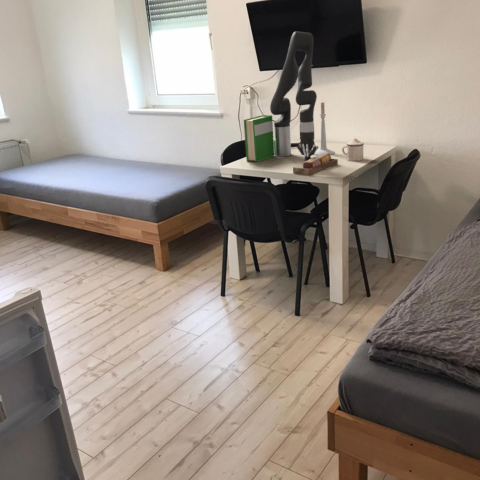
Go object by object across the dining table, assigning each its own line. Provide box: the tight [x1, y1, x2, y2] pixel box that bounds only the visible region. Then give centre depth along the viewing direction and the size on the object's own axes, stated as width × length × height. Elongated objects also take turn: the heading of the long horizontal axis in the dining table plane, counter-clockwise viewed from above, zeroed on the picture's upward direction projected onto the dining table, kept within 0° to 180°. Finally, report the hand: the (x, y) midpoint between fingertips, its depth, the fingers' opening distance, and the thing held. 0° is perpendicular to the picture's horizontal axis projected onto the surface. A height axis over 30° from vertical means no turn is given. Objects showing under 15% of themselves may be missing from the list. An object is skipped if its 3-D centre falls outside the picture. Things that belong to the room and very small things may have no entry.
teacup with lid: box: [341, 137, 365, 162], centre depth 285 cm, size 12×9×12 cm
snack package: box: [302, 152, 332, 169], centre depth 272 cm, size 21×7×7 cm, turn 145°
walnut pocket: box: [292, 158, 339, 176], centre depth 272 cm, size 10×26×3 cm, turn 137°
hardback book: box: [243, 114, 275, 163], centre depth 303 cm, size 18×7×24 cm, turn 141°
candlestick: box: [313, 101, 335, 156], centre depth 302 cm, size 13×13×30 cm
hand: (307, 163), depth 275 cm, fingers closed
